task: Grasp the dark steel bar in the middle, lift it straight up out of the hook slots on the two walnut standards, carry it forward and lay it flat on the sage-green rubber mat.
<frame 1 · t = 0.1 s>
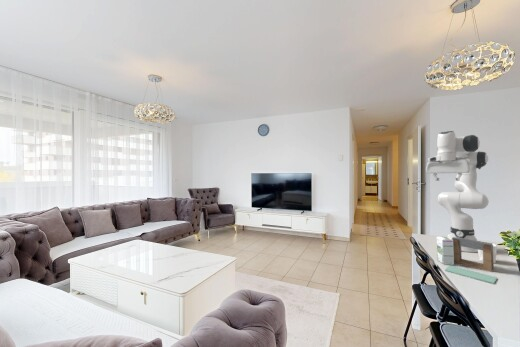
hand: (447, 180, 131), 48 cm above the table, fingers open, 8 cm apart
white cup: (487, 261, 128), on the table
mat: (469, 274, 112), on the table
rail: (471, 247, 122), point 10 cm above the table, touching rack
rack: (471, 265, 122), on the table
syrup box: (445, 263, 126), on the table
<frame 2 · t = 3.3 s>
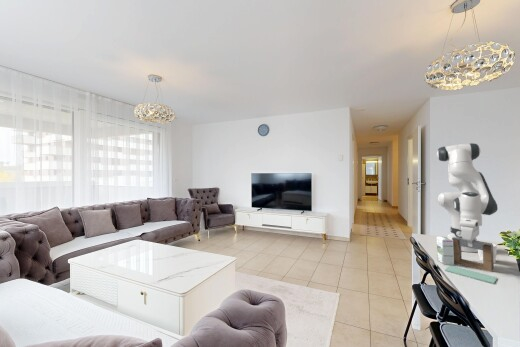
hand: (471, 245, 123), 11 cm above the table, fingers closed on rail, 3 cm apart
rail: (471, 247, 123), point 10 cm above the table, touching gripper, rack
everything else where it was.
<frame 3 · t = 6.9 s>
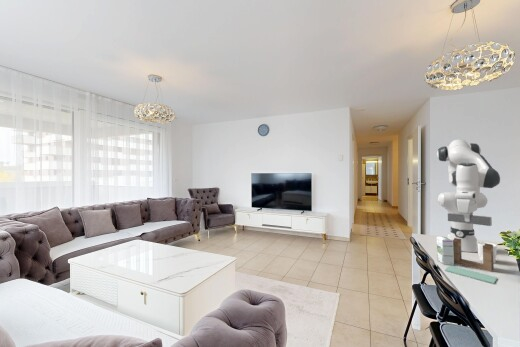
hand: (468, 220, 112), 28 cm above the table, fingers closed on rail, 3 cm apart
rail: (468, 222, 112), point 27 cm above the table, touching gripper
everything else where it was.
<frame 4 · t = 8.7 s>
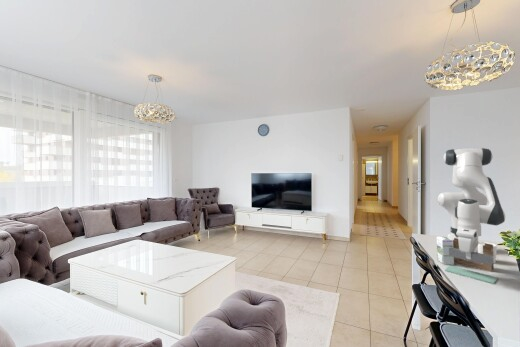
hand: (469, 257, 111), 9 cm above the table, fingers closed on rail, 3 cm apart
rail: (470, 259, 111), point 8 cm above the table, touching gripper
everything else where it was.
when the fingers open (3 cm above the table, at t = 10.2 s): rail drops 2 cm, resting on mat.
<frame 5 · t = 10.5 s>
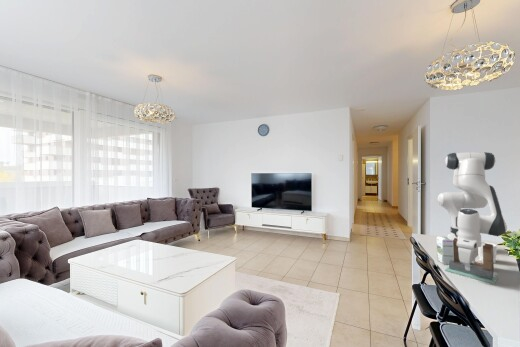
hand: (469, 267, 112), 3 cm above the table, fingers open, 6 cm apart
rail: (470, 273, 111), point 1 cm above the table, touching mat
everything else where it was.
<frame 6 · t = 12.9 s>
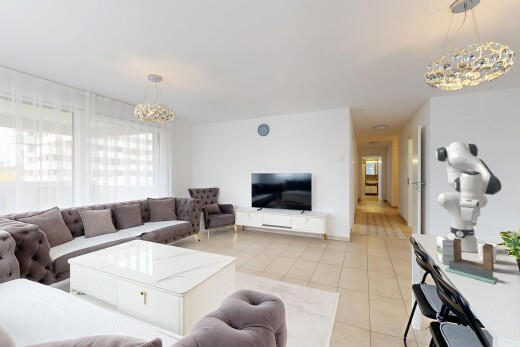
hand: (471, 227, 116), 23 cm above the table, fingers open, 8 cm apart
nothing on the table moved.
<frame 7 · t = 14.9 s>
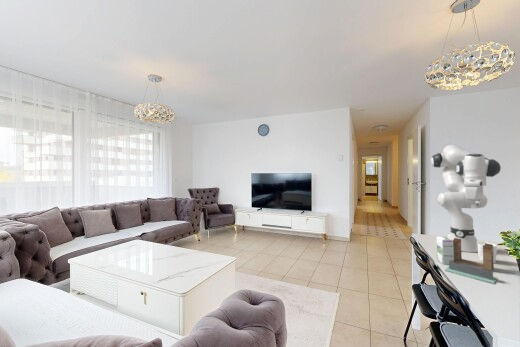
hand: (475, 207, 121), 33 cm above the table, fingers open, 8 cm apart
nothing on the table moved.
at the end: rail inside the target area on the mat (0.0 cm from its centre), point 0.6 cm above the mat's base; rail tilted 0°; the gripper is holding nothing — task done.
